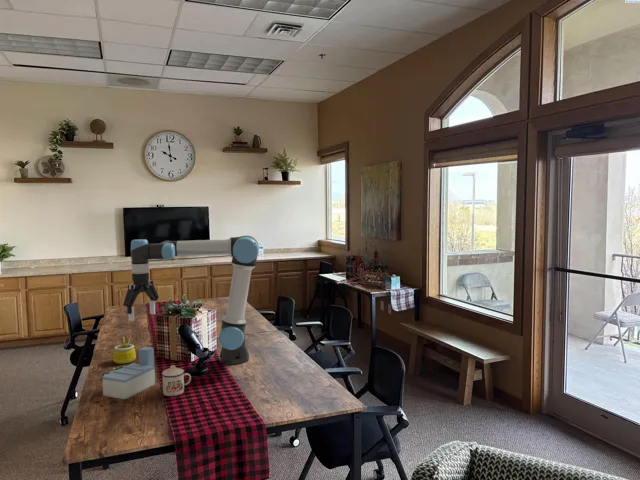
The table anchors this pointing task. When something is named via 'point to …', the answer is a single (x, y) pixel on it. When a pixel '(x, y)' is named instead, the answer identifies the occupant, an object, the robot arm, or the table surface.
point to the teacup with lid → (174, 381)
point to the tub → (128, 386)
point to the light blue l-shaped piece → (134, 367)
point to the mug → (124, 353)
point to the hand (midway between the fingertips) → (142, 317)
